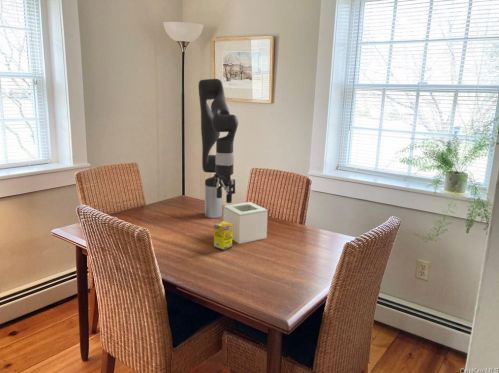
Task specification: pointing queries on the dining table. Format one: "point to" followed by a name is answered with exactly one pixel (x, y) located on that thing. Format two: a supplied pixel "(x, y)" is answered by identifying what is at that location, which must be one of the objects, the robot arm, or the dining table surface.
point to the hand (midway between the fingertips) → (224, 200)
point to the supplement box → (223, 235)
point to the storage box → (246, 221)
